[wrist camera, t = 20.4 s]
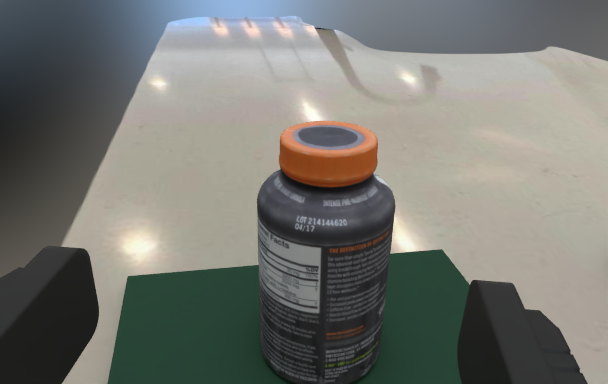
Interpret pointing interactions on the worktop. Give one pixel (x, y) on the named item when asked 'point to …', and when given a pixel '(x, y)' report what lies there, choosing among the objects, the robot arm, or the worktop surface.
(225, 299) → the mat
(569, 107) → the worktop surface
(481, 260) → the worktop surface
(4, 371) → the robot arm
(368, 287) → the pill bottle
